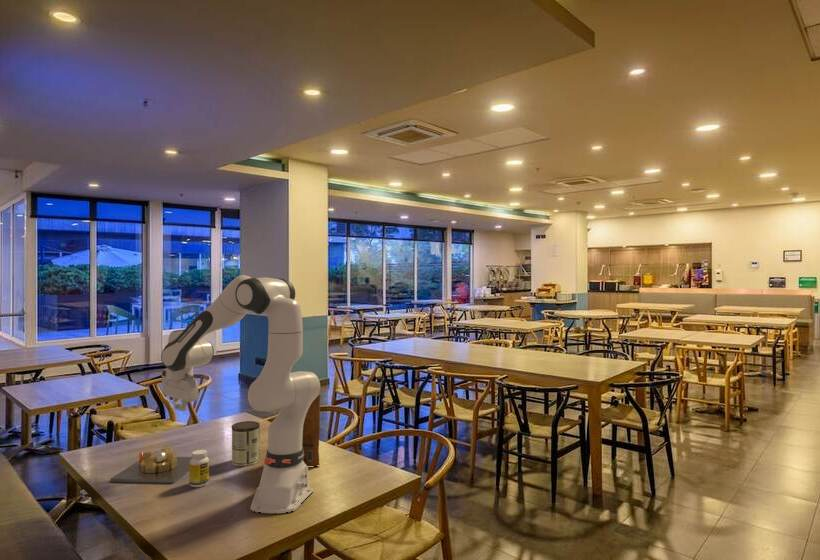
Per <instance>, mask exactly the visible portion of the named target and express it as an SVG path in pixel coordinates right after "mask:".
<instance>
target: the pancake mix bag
mask: <svg viewBox="0 0 820 560" xmlns="http://www.w3.org/2000/svg"><path fill="white" fill-rule="evenodd" d="M321 396H322V395H321V394H319V395H318V396H317V397H316V398H315V400H314V401H313V402H312V404H311V405H310V407H309V409H308V411H307V414H306V417H305V420H304V424H303V438H302V447H303V448H304V459H303V461H304V463H305V464H306V465H307V466H317V465H320V451H319V447H320V432H321V431H320V430H321V429H320V428H321V424H320V423H321V416H320V415H321V412H320V411H321Z"/></svg>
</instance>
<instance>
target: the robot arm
mask: <svg viewBox="0 0 820 560" xmlns="http://www.w3.org/2000/svg"><path fill="white" fill-rule="evenodd" d="M295 297H296V289H295V286H294V285H293V283H292V282H290V281H289V280H286V279H284V278H272V277H265V276H264V277H256V278H255V277H251V276H249V275H245V274H241V275H238V276H236V277H235V278H234V279H233V280H231V281H230V282H229V283H228V284H227V285H226V286H225V287H224V289H223V290H222V291H221V292H220V294H219V296H217V297H216V299H215V300H214V301H213V302H212V303H211V304H210V305H209V306H208V307H207V308H205V309H204V310H203V311H202V312H200V313H199V314H197V316H196V317H195V318H193V320H192V321H191V322H190V323H189V324H188V325H187V326H186V327H185V329H177V330H173V331H171V332H169V336H168V340H167V344H166V345H165V346H164V347H163V349H162V351H161V357H160V359H161V362H162V364H163V366H164V367H166V368H164V369H163V370H161V373H160V374H161V377H162V379H161V389H162V393H163V395H164V396H168V397H171V398H172V402H173V406H174V407H173V409H175V410H176V411H177V410H179V411H180V412H187V405H188V403H191V402H196V401H198V400H199V385H198V380H197V379H195V377H194V368H195V367H200V366H204V365H207V364H209V363H211V362H212V360H213V358H214V355H215V349H214V346H213V344H212V343H211V341H209V340H208V339H204V337H205V336H206V335H208V334H210V333H213V332H216V331H218V330H221V329H225V328H229V327H233V326H235V325H236V324H237V323H239V322H240V321H241V320H242V319H243V318H244V317H245V316H246V315H247V313H248V312H249V311H250V312H253V313H255V314H257V315H261V314H262V313H264V314H265V315H266V317H267V319H268V321H267V322H268V331H267V332H268V338H267V356H266V359H265V360H266V361H265V363H264V366H263V368H262V369H261V372H260V374H259V375H258V377H257V378H256V379H255V380H254V381H253V382H252V383H251V384H250V385H249V388H248V391H247V399H248V402H249V405H250V406H251V408H252V409H253V410H254V411H257V412H274V411H278V410H279V412H278V414H277V416H276V417H275V418H274V419H273V420H272V421H271V422H270V423H269V425H268V428H267V449H266V453H265V458H264V462H263V463H264V465H263V469H262V473H261V477H260V481H259V485H258V487H257V488H256V489H255V493H254V495H253V499H252V501H251V505H250V508H249V509H250V511H251V510H252V511H251V512H254V511H255V513H258V512H261V513H260V514H275V513H276V514H287V513H286V512H288V513H292V512H291V511H293V512H295V511H296V510H297V509H298V508H300V506H302V504H303V503H304V502H305V501H306V500H307V499H308V498H309V497H310V496H311V495H312V494H313V493H314V492H313V491H314V488H313V487H310V484H309V482H310V481H309V467H308V466H307V465H306V464H305V463H304V461H303V459H304V448H303V447H302V438H303V424H304V420H305V417H306V414H307V411H308V409H309V407H310V405H311V404H312V402H313V401H314V400H315V398H316V397H317V396H318V395H320V392H321V381H320V379H319V377H318V376H317V374H315V373H314V372H312V371H306V370H304V371H303V370H302V371H301V370H298V371H294V372H292V368H293V367H294V365H295V364H296V363H297V361H299V360H300V359H301V358H302V356H303V353H304V352H303V351H304V348H303V347H304V345H303V343H304V338H303V337H304V334H303V331H304V327H303V316H302V315H303V314H302V310H301V305H300V303H299V302H298V301H297V300H296V298H295ZM312 492H313V493H312ZM311 493H312V494H311ZM310 494H311V495H310ZM309 495H310V496H309ZM308 496H309V497H308ZM307 497H308V498H307ZM306 498H307V499H306ZM305 499H306V500H305ZM304 500H305V501H304ZM303 501H304V502H303ZM302 502H303V503H302ZM301 503H302V504H301Z"/></svg>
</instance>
